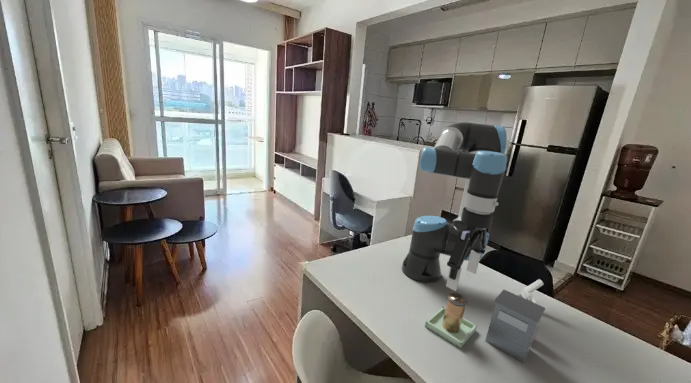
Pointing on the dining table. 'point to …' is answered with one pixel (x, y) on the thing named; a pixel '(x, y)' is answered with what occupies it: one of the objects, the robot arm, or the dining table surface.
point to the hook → (530, 290)
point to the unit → (514, 324)
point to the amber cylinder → (454, 312)
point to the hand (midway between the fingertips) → (461, 279)
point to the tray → (454, 338)
